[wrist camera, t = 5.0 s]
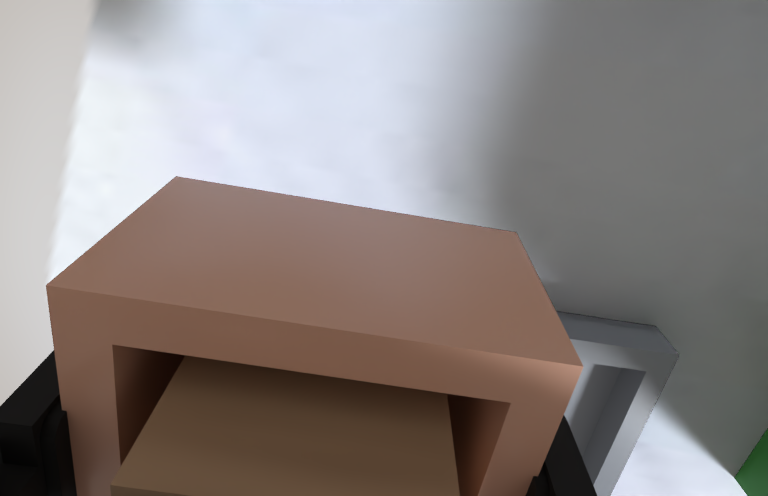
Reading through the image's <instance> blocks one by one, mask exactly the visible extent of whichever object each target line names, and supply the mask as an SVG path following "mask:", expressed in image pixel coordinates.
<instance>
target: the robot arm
mask: <svg viewBox="0 0 768 496" xmlns="http://www.w3.org/2000/svg"><path fill="white" fill-rule="evenodd" d="M0 496H77V491H76V483H75V474H74V466H73V458H72V450H71V442H70V434H69V425H68V417H67V411H64V410H62V407H61V399H60V391H59V383H58V375H57V368H56V360H55V352H54V351H53V352H52V353H51V354H50V355H49V356H48V357H47V358H46V359H45V360H44V361H43V362H42V363H41V364H40V366H38V368H36V370H35V371H34V372H33V373H32V374H31V375H30V376H29V377H28V378H27V379H26V380H25V381H24V382H23V383H22V384H21V386H19V387H18V388H17V389H16V390H15V391H14V393H13V394H12V395H11V396H10V397H9V398H8V399H7V400H6V401H5V402H4V403H3V404H2V405H1V406H0ZM525 496H597V494H596V491H595V489H594V486H593V484H592V481H591V479H590V476H589V474H588V471H587V469H586V466H585V464H584V461H583V459H582V456H581V454H580V451H579V449H578V446H577V444H576V441H575V439H574V436H573V434H572V431H571V429H570V426H569V424H568V421H567V419H566V417H565V416H564V415H563V418H562V420H561V422H560V425H559V427H558V430H557V432H556V434H555V437H554V439H553V442H552V444H551V446H550V449H549V451H548V454H547V456H546V458H545V461H544V463H543V466H542V468H541V470H540V473H539V475H538V476H533V478H532V481H531V483H530V486H529V488H528V491H527V493H526V495H525Z"/></svg>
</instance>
